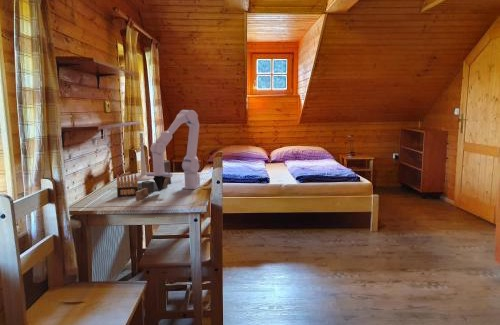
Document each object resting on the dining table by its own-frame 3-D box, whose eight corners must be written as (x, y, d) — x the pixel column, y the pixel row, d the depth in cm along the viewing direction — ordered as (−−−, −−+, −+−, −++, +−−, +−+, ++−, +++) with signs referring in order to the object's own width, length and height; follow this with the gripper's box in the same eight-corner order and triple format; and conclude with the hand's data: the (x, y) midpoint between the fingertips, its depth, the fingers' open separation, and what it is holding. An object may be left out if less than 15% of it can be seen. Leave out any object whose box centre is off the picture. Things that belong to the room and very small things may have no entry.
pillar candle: (173, 181, 235) (171, 157, 232) (168, 185, 225) (166, 160, 223) (157, 182, 236) (156, 158, 233) (152, 185, 226) (150, 160, 224)
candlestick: (136, 181, 239) (132, 133, 234) (132, 177, 250) (128, 132, 245) (156, 179, 245) (153, 132, 240) (151, 175, 256) (148, 131, 251)
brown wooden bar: (165, 187, 220) (164, 178, 219) (167, 187, 220) (166, 178, 219) (136, 200, 192) (135, 190, 191) (138, 200, 191) (138, 191, 190)
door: (161, 188, 216) (161, 181, 216) (161, 188, 215) (161, 181, 215) (132, 190, 212) (131, 183, 212) (132, 190, 211) (131, 183, 211)
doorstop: (154, 192, 209) (153, 181, 208) (148, 193, 205) (147, 183, 204) (144, 190, 213) (143, 180, 212) (138, 192, 210) (137, 181, 209)
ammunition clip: (117, 197, 199) (115, 175, 197) (117, 196, 201) (116, 174, 199) (138, 196, 201) (136, 173, 199) (138, 195, 203) (137, 173, 201)
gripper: (142, 165, 201) (144, 191, 203) (167, 166, 197) (168, 192, 200) (149, 163, 208) (151, 188, 210) (173, 164, 204) (175, 189, 206)
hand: (160, 189), depth 205 cm, fingers closed
